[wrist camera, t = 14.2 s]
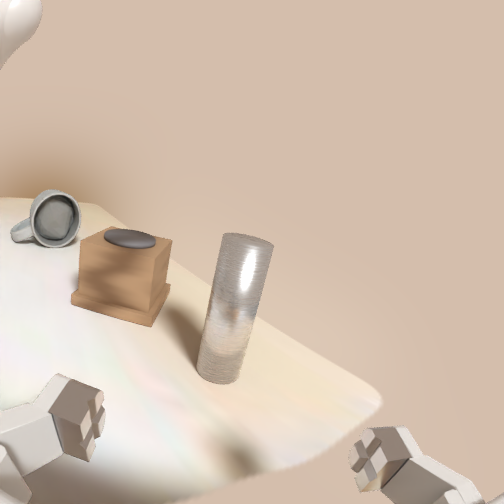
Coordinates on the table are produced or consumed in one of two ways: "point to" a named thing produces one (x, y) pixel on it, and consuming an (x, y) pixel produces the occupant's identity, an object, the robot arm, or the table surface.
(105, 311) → the walnut stand
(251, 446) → the table surface
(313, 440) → the table surface
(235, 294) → the brushed metal cylinder
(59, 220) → the ceramic mug
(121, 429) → the table surface
